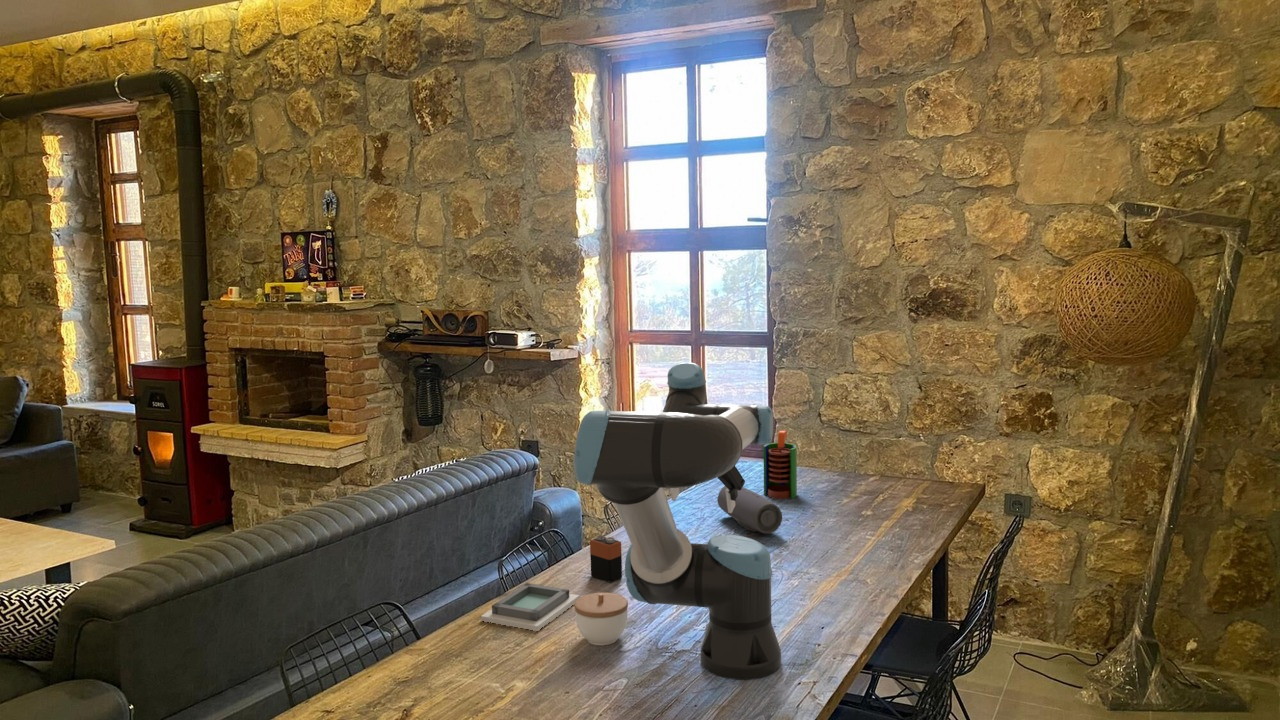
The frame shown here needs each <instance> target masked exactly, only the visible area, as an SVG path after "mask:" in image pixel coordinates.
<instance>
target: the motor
mask: <svg viewBox="0 0 1280 720" xmlns="http://www.w3.org/2000/svg"><path fill="white" fill-rule="evenodd" d="M777 437H778V438H777V442H770V443H769V444H763V448H762V449H763V496H768V497H770V498H772V499H777V500H783V499H785V500H786V499H795V498H797V497H798V488H797V487H798V483H797V482H798V479H797V478H798V474H797V473H798V471H797V469H798V467H797V464H798V462H797V461H798V458H797V457H798V456H797V452H798V451H797V450H798V449H797V445H796V444H793V443H788V442H786V441H785V440H786V438H788V431H787V430H779V432H778V436H777Z"/></svg>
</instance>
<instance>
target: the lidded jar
mask: <svg viewBox="0 0 1280 720" xmlns="http://www.w3.org/2000/svg"><path fill="white" fill-rule="evenodd" d="M573 607H574V612H575V613H574V615H575V622H576V625H577V629H578V632H579V633H580V635H581V636H582V637H583V638H584V639H585V640H586V641H587V642H588V643H589V644H590V645H593V646H600V647H601V646H608V645H612V644H614V643H616V642H617V641H618V639H619V637H620V636H622V634H623V633H624V631H625V629H626V626H627V622H628V607H629V602H628V599H627V598H626V597H625V596H624V595H620V594H618V593H613V592H594V593H589V594H585V595H582V596H581V597H580V598H579V599H577V600H576V602H575V604H574V605H573Z"/></svg>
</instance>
